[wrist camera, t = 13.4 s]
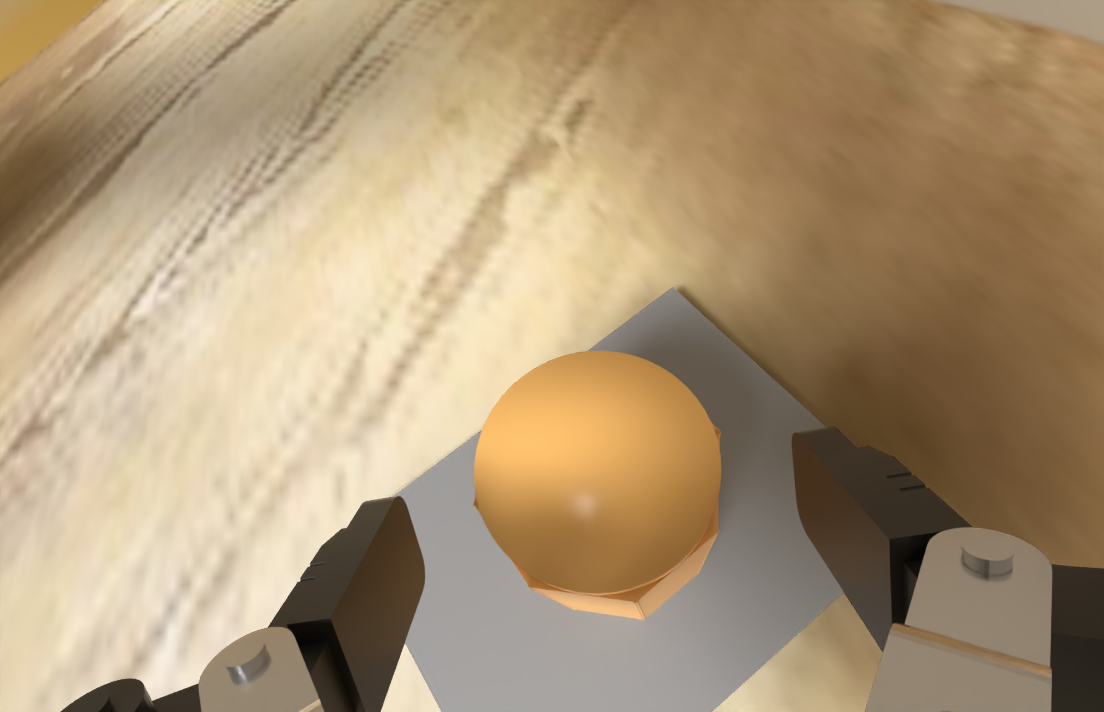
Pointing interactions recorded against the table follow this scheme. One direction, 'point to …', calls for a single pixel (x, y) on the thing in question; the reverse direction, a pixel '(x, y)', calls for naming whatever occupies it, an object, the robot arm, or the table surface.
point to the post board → (679, 623)
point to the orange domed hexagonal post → (601, 482)
